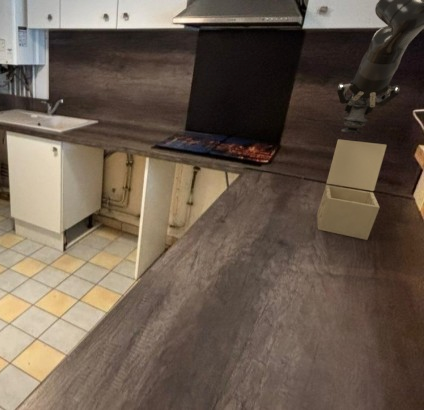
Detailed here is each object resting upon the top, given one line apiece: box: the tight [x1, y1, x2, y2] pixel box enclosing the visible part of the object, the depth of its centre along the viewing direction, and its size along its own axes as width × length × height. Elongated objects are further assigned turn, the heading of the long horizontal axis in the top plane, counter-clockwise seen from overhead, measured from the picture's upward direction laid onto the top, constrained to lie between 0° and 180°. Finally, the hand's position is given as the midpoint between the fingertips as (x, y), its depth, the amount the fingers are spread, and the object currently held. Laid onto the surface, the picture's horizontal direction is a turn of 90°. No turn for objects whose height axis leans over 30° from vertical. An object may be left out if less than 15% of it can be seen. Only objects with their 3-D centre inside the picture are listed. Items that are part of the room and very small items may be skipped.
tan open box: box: [316, 184, 381, 241], centre depth 104 cm, size 13×12×10 cm
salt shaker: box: [341, 97, 370, 135], centre depth 101 cm, size 6×6×12 cm
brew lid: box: [326, 138, 387, 192], centre depth 108 cm, size 14×12×4 cm
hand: (357, 111), depth 103 cm, fingers closed on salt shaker, 3 cm apart
